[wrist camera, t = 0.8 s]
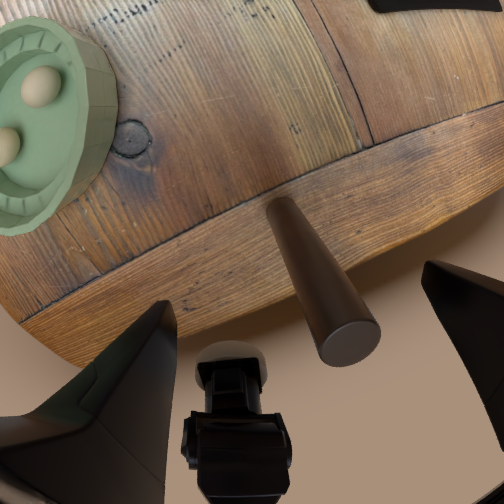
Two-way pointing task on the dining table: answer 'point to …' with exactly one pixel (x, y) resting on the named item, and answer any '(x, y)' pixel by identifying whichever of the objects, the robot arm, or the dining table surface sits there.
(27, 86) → the bead
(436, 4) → the cell phone
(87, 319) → the dining table surface
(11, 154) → the bead
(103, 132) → the bowl
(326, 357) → the stick
